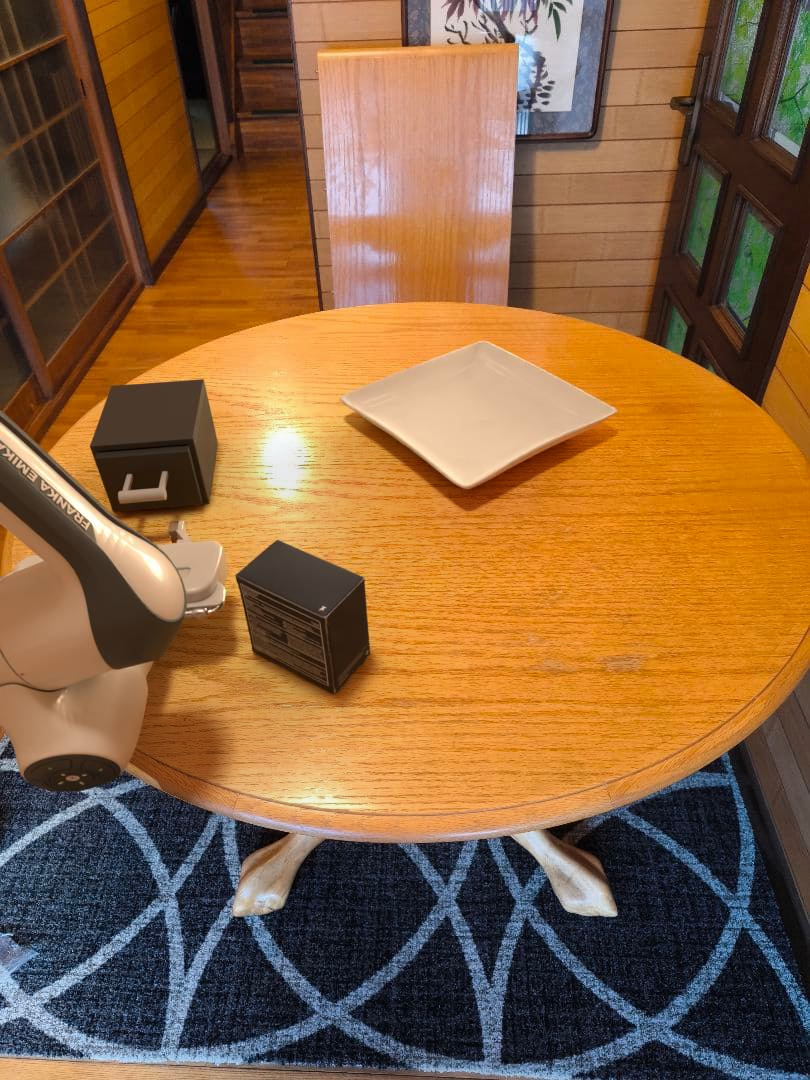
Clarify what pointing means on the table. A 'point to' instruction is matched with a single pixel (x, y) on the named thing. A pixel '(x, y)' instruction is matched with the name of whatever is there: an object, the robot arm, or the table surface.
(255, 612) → the small box
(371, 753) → the table surface
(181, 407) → the cabinet
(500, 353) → the square plate
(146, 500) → the drawer
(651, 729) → the table surface
